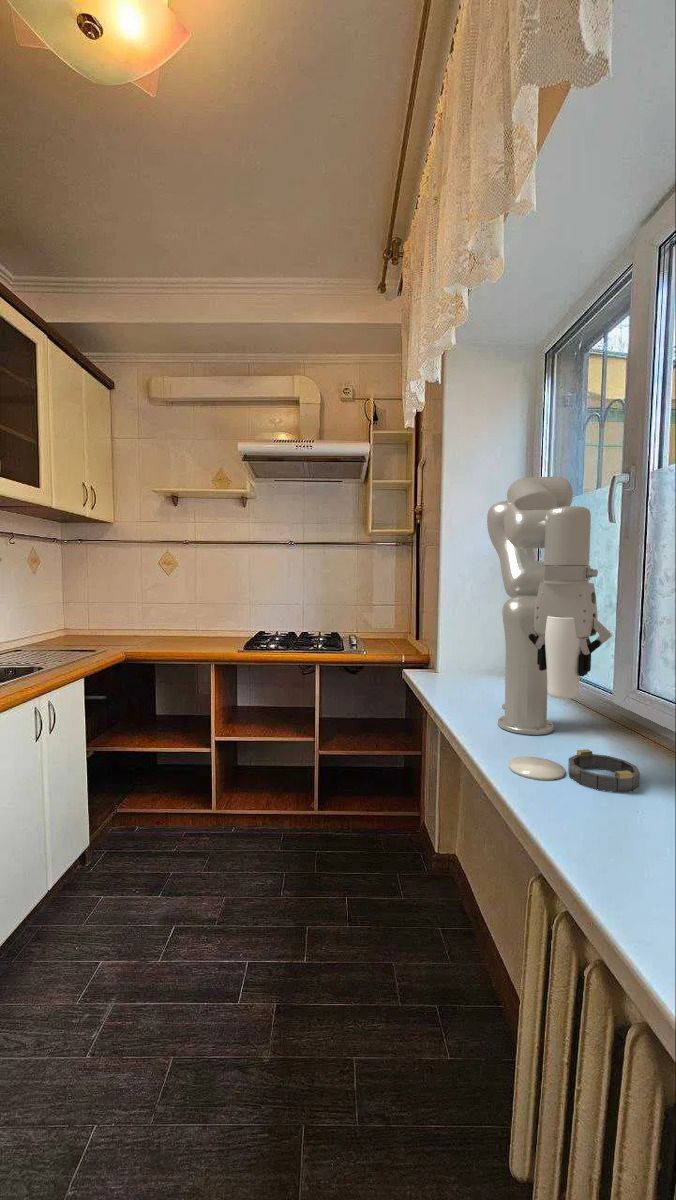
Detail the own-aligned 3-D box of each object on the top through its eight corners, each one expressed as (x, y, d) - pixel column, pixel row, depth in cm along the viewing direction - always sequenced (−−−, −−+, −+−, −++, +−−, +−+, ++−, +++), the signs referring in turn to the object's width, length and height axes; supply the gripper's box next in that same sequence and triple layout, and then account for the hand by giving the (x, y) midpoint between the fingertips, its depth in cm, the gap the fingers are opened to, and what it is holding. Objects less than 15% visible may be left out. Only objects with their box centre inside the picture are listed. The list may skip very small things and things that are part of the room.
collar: (555, 768, 97) (555, 751, 96) (608, 764, 98) (608, 747, 98) (596, 795, 85) (596, 776, 85) (654, 790, 87) (655, 771, 87)
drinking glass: (543, 689, 98) (545, 613, 97) (581, 693, 96) (584, 614, 94) (542, 698, 92) (544, 617, 91) (583, 702, 89) (586, 618, 88)
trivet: (499, 761, 100) (499, 758, 100) (545, 758, 102) (545, 755, 102) (525, 782, 90) (526, 779, 90) (576, 778, 92) (576, 775, 92)
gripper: (624, 575, 89) (620, 675, 90) (527, 574, 101) (525, 662, 102) (612, 577, 83) (608, 683, 85) (511, 575, 95) (509, 668, 97)
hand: (563, 671), depth 94 cm, fingers closed on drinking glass, 6 cm apart
